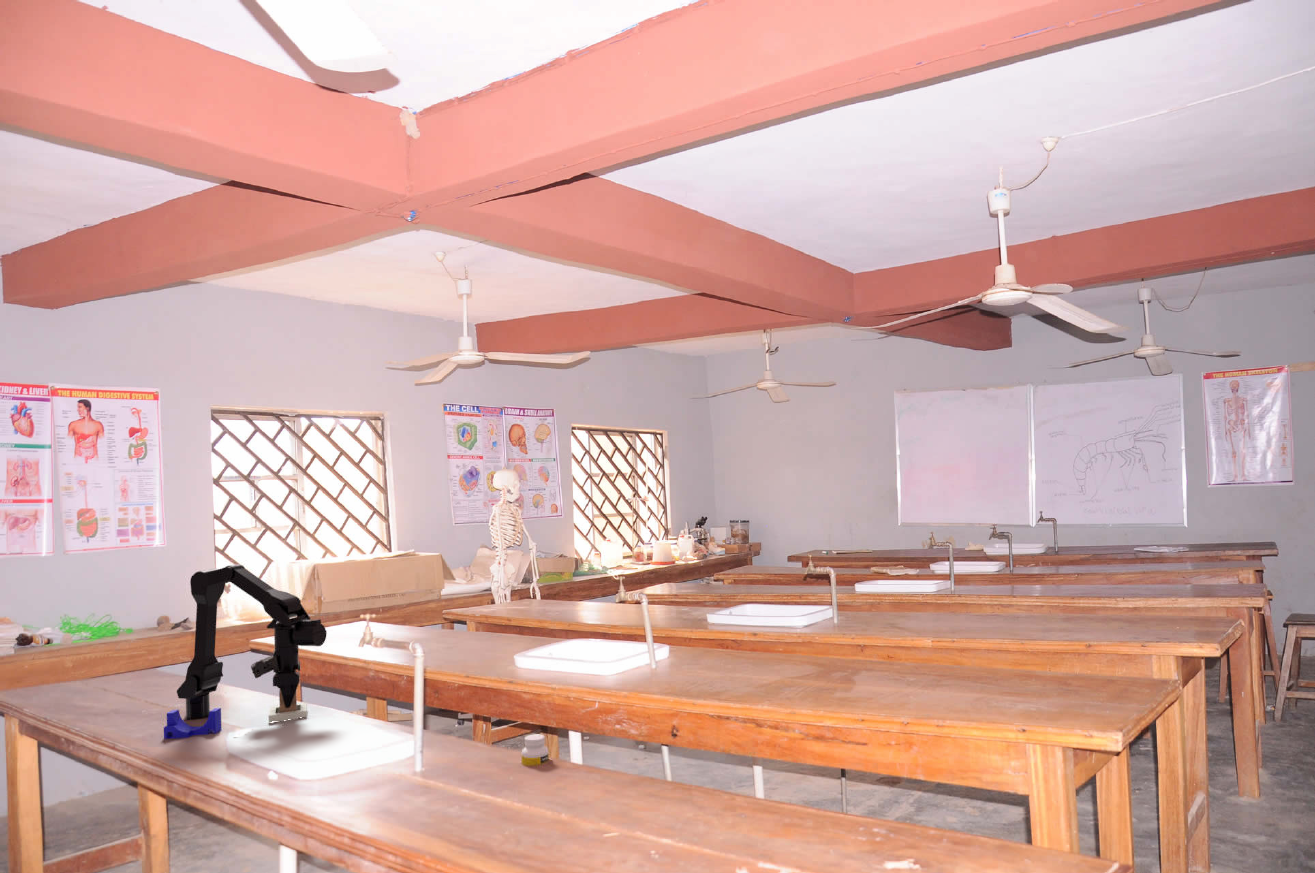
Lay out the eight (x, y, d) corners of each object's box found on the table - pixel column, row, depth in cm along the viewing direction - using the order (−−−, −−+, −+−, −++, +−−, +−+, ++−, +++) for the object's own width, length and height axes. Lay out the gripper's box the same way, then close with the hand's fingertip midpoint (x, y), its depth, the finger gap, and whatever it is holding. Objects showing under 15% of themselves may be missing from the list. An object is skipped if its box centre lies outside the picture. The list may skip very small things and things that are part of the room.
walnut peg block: (280, 715, 237) (279, 688, 237) (296, 713, 238) (296, 686, 238) (279, 719, 233) (279, 691, 233) (296, 716, 234) (295, 689, 234)
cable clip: (164, 739, 223) (163, 714, 223) (173, 733, 228) (172, 709, 228) (212, 737, 223) (212, 712, 224) (221, 731, 228) (220, 707, 228)
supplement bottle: (544, 791, 178) (542, 741, 178) (518, 790, 179) (516, 740, 179) (553, 781, 183) (551, 733, 184) (527, 780, 185) (526, 732, 185)
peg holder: (270, 718, 238) (270, 706, 238) (307, 713, 241) (306, 702, 241) (268, 727, 230) (268, 715, 230) (306, 722, 233) (306, 710, 233)
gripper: (254, 642, 242) (256, 700, 241) (250, 655, 224) (251, 718, 224) (299, 637, 246) (301, 695, 245) (298, 650, 228) (300, 712, 228)
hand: (287, 705), depth 236 cm, fingers closed on walnut peg block, 4 cm apart
